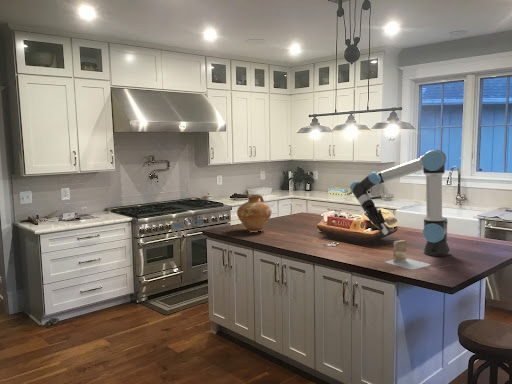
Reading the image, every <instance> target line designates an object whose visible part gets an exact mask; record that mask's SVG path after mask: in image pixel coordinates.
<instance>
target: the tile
mask: <svg viewBox="0 0 512 384" xmlns="http://www.w3.org/2000/svg"><path fill="white" fill-rule="evenodd" d="M392 252H393V257H392V258H393V259H392V260H393V262H396V263H398V262H403V261H406V258H407V240H405V239H401V240H395V241H393V251H392Z"/></svg>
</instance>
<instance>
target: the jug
mask: <svg viewBox="0 0 512 384" xmlns="http://www.w3.org/2000/svg"><path fill="white" fill-rule="evenodd" d="M246 197H247V201H246V202H244V203H242V204H240V206H239V207H238V208H237V211H236V214H237V217H238V220H240V222H241V223H242V225H243V226H244V227H245V228H246V229H247V230H248V231H261V230H262V229H263V228H264V227H265V225H266V224H267V222H268V221H269V220H270V219H271V215H272V208H271V207H270V206H269V205H268V204H267V203H265V199H264V197H263V196H262V194H261V193H255V194H249V195H248V194H247V195H246ZM247 230H246V231H247ZM248 231H247V232H248ZM261 232H262V231H261Z"/></svg>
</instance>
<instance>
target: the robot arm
mask: <svg viewBox="0 0 512 384" xmlns="http://www.w3.org/2000/svg"><path fill="white" fill-rule="evenodd" d="M446 163H447V156H446V154H445V153H444V152H443V151H442V150H440V149H432V150H428V151H426V152H425V153H424V154H423V155H421V156H419V158H417V159H414V160H410V161H408V162H405V163H402V164H398V165H397V166H394V167H391V168H388V169H385V170H381V171H379V172H376V171H372V172H371V173H369V174H367V176H366V177H365V178H363V179H362V180H361V181H359V180H355V181H354V182H352V183H351V184H350V185H349V188H350V191H351V192H352V194H353V196H354V197H355V198H356V200H357V202H358V203H359V204H360V206H361V208H362V209H363V211H364V213H363V214H364V216H366V217H367V218H368V220H369V222H371V223H372V224H373V225H374V226H376V227H378V228H379V230H380V231H381V232H382V234H383V235H384V236H385V235H387V234H388V233H389V230H388V229H387V226H386V225H385V222H386V220H385V218H384V216H383V213H382V210H381V209H378V208H377V207H375V202H374V201H373V199H372V197H370V195H369V193H368V192H369V191H370V190H371V189H372V188H374V187H376V186H379V185H382V184H385V183H387V182H388V183H389V182H391V181H393V180H397V179H400V178H404V177H406V176H409V175H412V174H415V173H419V172H422V171H423V174H424V176H425V179H426V180H425V181H426V183H425V184H426V186H425V188H426V193H425V194H426V195H425V196H426V209H425V210H426V215H425V217H424V218H423V229H422V235H423V237H424V239H425V240H426V242H425V244H424V247H423V254H424V255H428V256H433V257H447V256H450V255H451V254H450V253H451V251H450V247H449V245H448V223H449V222H448V218H447V217H443V175H444V174H445V171H446V170H445V169H446V168H445V167H446Z"/></svg>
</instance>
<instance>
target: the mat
mask: <svg viewBox="0 0 512 384" xmlns="http://www.w3.org/2000/svg"><path fill="white" fill-rule="evenodd" d="M384 263H386V264H389V265H393V266H397V267H401V268H404V269H408V270H411V271H412V270H416V269H421V268H425V267H428V266H432V264H430V263H426V262H423V261H422V262H421V261H418V260H415V259H411V258H407V257H406V261H403V262H398V263H396V262H393V259H391V260H387V261H384Z"/></svg>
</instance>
